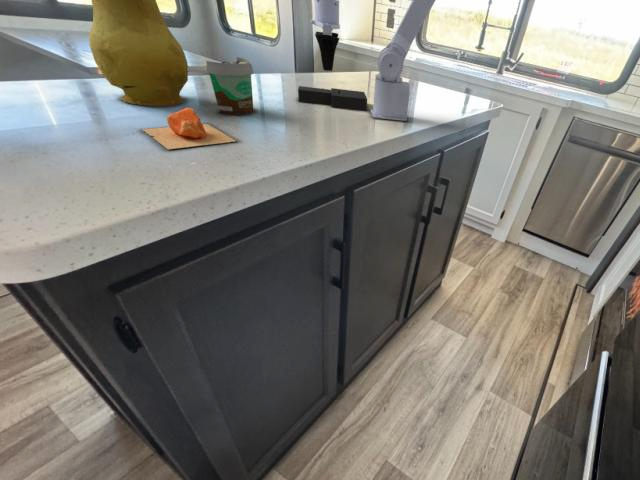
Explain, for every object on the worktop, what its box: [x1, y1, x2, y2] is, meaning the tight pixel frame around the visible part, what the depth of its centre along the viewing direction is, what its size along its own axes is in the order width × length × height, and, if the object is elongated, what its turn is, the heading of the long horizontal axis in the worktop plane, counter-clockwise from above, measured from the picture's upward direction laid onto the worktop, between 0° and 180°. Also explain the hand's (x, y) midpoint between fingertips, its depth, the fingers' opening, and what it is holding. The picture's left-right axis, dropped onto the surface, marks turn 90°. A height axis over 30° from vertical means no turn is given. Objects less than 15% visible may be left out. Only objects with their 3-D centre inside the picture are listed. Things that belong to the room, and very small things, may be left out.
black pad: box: [297, 85, 339, 106], centre depth 96 cm, size 11×5×3 cm, turn 99°
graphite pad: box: [330, 87, 368, 112], centre depth 98 cm, size 10×10×3 cm
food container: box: [206, 56, 254, 116], centre depth 77 cm, size 12×6×10 cm, turn 168°
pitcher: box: [88, 0, 189, 107], centre depth 71 cm, size 17×19×25 cm
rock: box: [141, 107, 236, 150], centre depth 62 cm, size 12×12×4 cm
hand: (327, 68), depth 87 cm, fingers open, 7 cm apart
